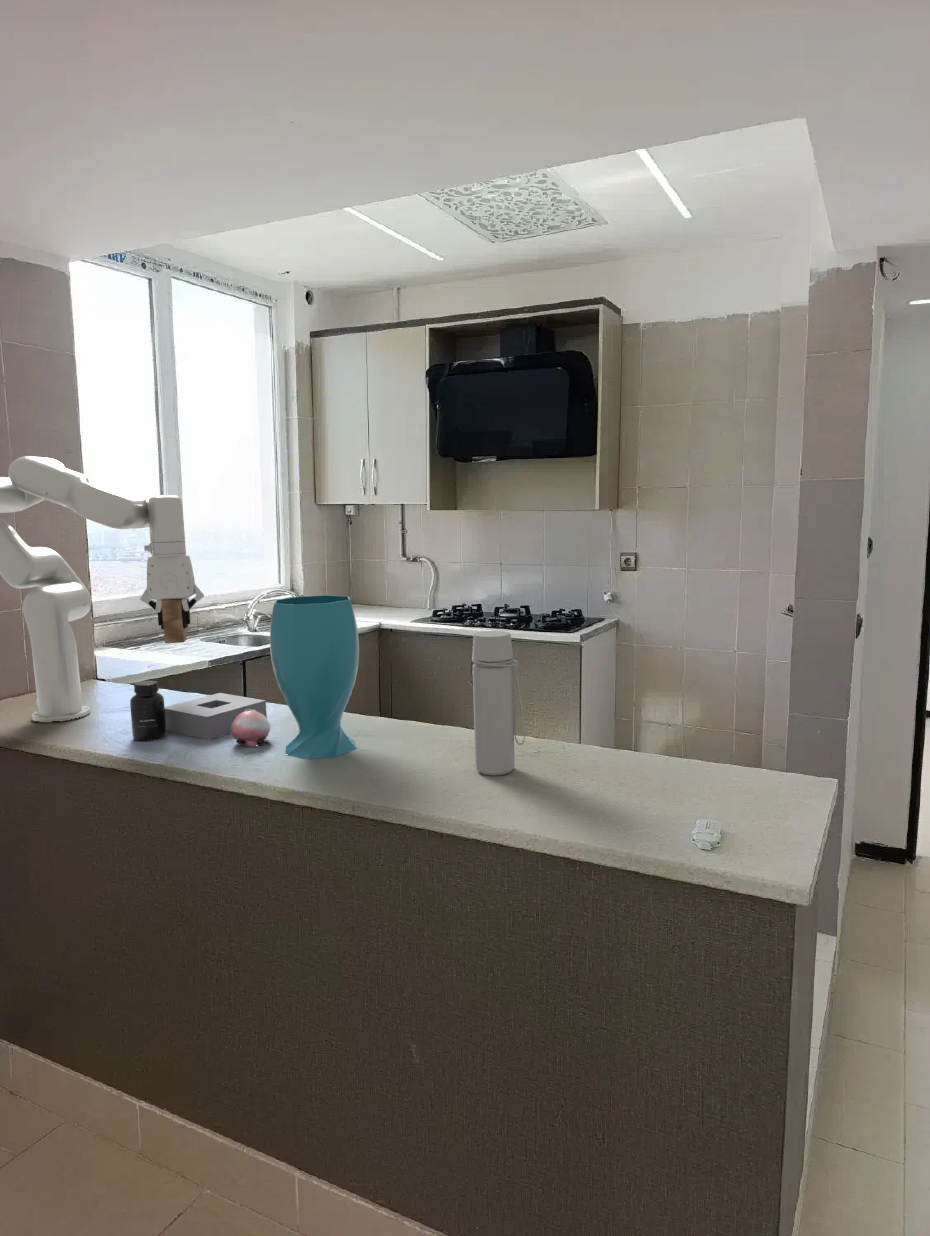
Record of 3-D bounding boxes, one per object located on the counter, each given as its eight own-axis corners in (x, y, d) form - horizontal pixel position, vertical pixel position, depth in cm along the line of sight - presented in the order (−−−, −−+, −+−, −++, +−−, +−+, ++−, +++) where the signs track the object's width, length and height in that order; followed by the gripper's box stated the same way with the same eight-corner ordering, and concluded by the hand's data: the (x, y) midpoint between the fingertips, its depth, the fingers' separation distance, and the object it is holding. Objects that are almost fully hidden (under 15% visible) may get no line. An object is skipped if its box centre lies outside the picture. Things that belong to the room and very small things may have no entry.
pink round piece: (257, 740, 172) (267, 708, 171) (271, 752, 165) (281, 719, 165) (222, 736, 167) (231, 703, 167) (234, 748, 161) (244, 713, 160)
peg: (164, 643, 186) (161, 600, 185) (168, 640, 190) (165, 598, 189) (183, 642, 187) (180, 599, 185) (186, 639, 191) (183, 597, 189)
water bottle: (472, 777, 142) (467, 637, 138) (477, 763, 149) (473, 630, 146) (524, 778, 140) (521, 637, 137) (527, 764, 148) (524, 630, 145)
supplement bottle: (144, 743, 169) (139, 687, 167) (126, 738, 173) (121, 684, 171) (173, 735, 174) (168, 681, 172) (155, 731, 178) (151, 678, 176)
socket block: (162, 729, 179) (160, 707, 178) (221, 713, 192) (219, 692, 191) (208, 739, 170) (207, 716, 169) (267, 721, 183) (265, 700, 182)
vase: (381, 742, 164) (374, 596, 160) (321, 766, 150) (312, 607, 146) (320, 731, 174) (312, 593, 170) (258, 752, 160) (248, 603, 156)
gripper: (126, 551, 180) (133, 632, 183) (203, 549, 183) (209, 628, 186) (134, 550, 188) (141, 627, 190) (208, 547, 190) (214, 623, 193)
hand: (174, 627), depth 188 cm, fingers closed on peg, 4 cm apart
